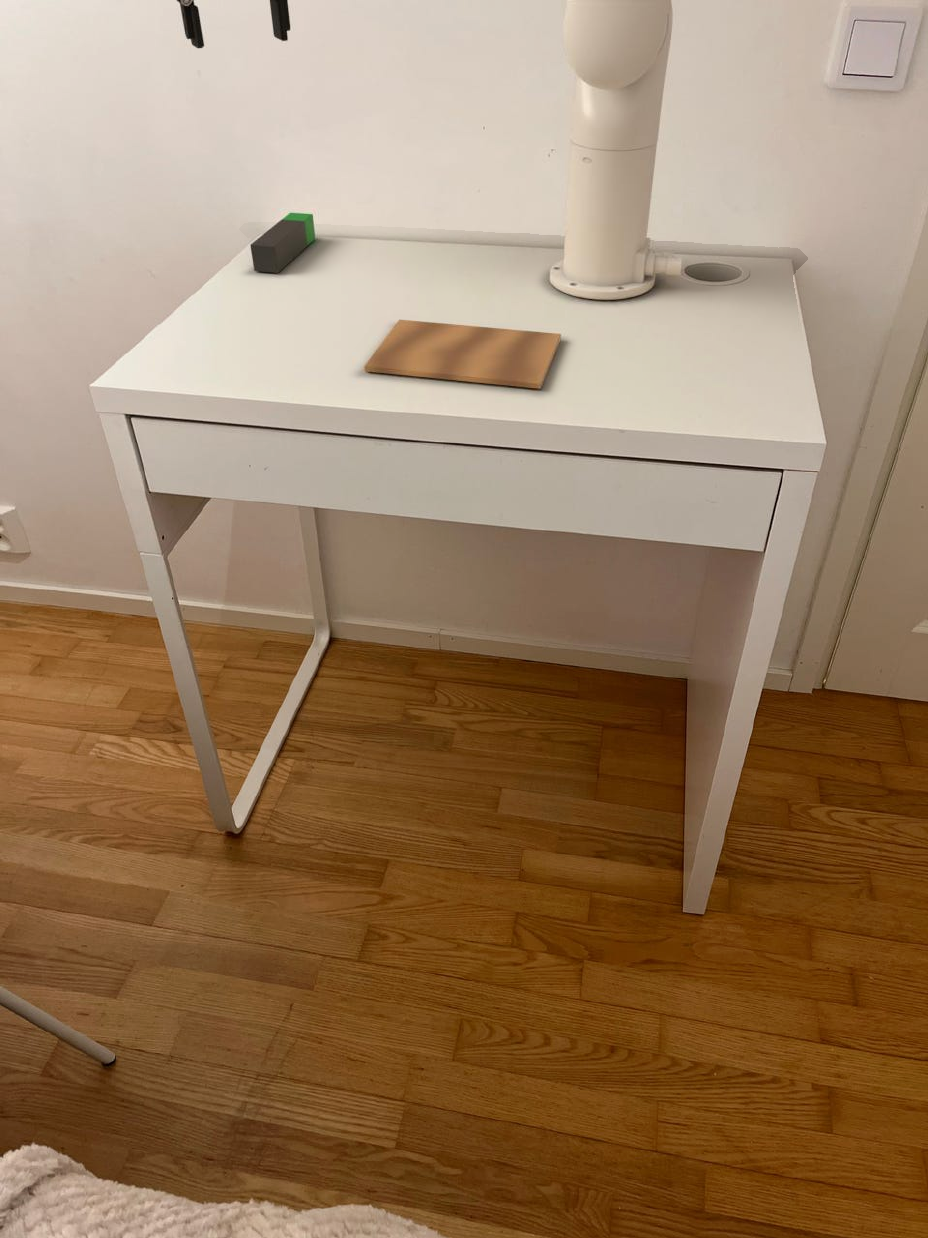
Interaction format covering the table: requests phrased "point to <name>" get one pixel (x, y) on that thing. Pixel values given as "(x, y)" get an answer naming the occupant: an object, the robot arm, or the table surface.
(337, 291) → the table surface
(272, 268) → the marker
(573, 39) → the robot arm
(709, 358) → the table surface
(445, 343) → the wooden board
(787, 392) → the table surface
